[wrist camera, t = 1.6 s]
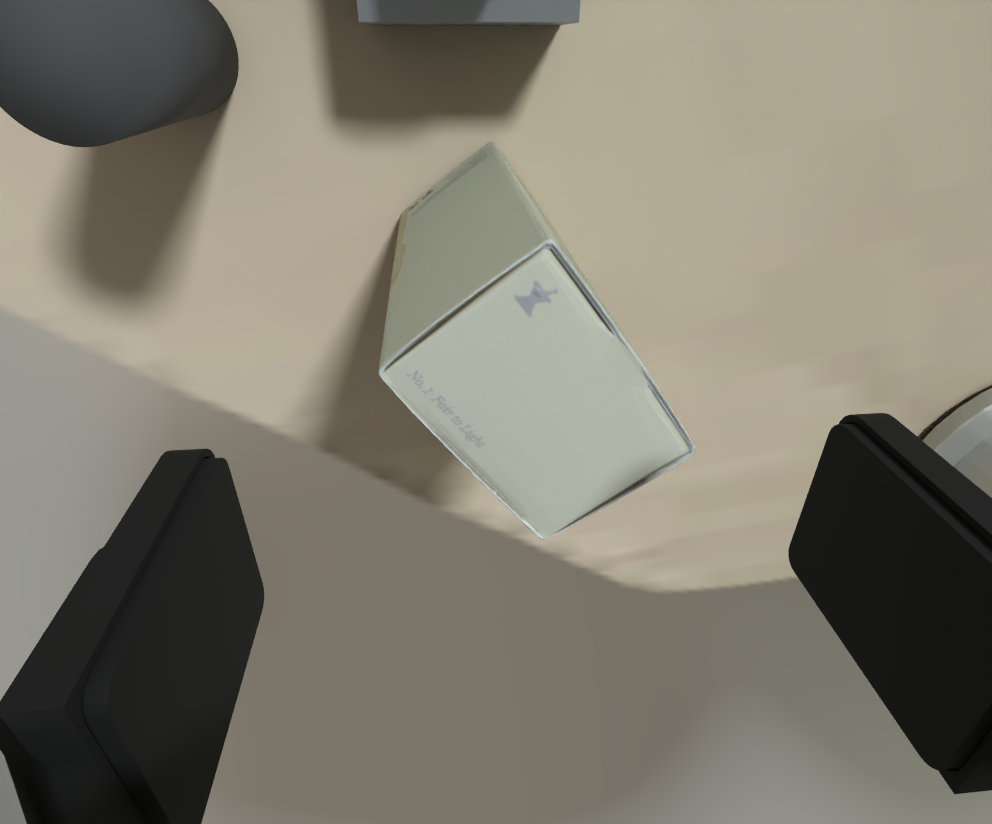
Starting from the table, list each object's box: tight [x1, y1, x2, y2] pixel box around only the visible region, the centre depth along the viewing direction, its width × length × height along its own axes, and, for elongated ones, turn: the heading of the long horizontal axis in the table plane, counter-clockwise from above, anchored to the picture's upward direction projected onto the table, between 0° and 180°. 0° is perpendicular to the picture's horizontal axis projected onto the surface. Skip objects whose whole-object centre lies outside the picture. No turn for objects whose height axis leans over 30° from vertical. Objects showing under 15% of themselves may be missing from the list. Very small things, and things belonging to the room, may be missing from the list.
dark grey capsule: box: [0, 0, 238, 147], centre depth 16 cm, size 4×4×7 cm
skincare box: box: [378, 142, 695, 540], centre depth 18 cm, size 6×4×12 cm
